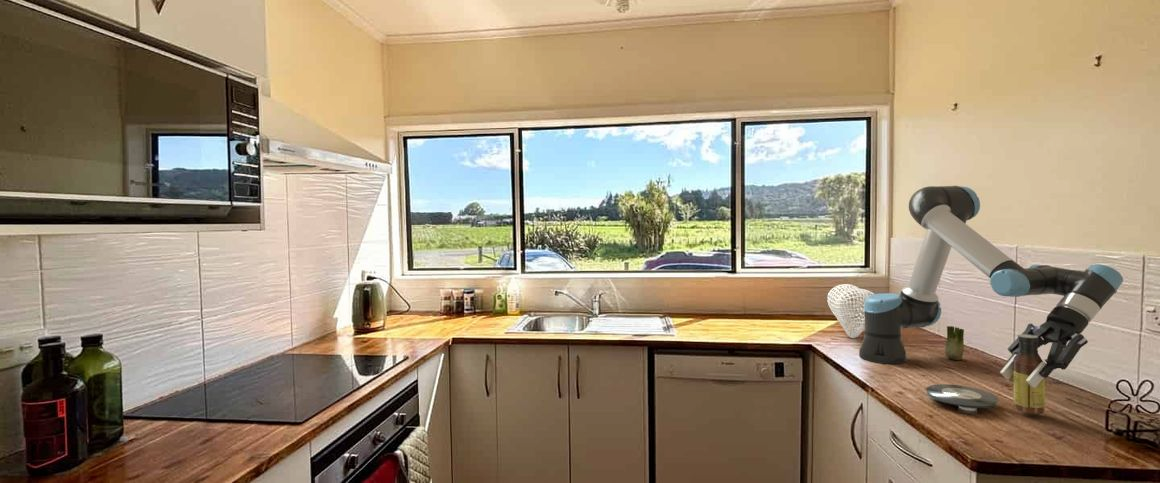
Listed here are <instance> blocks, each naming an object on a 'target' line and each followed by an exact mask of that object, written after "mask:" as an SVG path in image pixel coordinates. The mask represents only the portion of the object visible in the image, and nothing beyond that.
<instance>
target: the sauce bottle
mask: <svg viewBox="0 0 1160 483" xmlns="http://www.w3.org/2000/svg"><path fill="white" fill-rule="evenodd" d="M1017 338H1018V341H1019V352H1018V354H1017V355H1016V356H1015V357H1014V359H1013V362H1014V369H1013V375H1012V376H1013V377H1012V378H1013V403H1014V404H1013V405H1014V408H1015V409H1017V411H1019V412H1023V413H1027V414H1034V415H1041V414H1043V413H1044V412H1045V410H1046V409H1045V406H1046V389H1045V388H1046V386H1045V384H1046V382H1045V381H1046V380H1045V379H1046V378H1043V379H1042V380H1041V382H1040V383H1039V384H1038V385H1037V386H1036V387H1035V388H1033V387H1031V386H1030V385H1029V384H1028V382H1027V381H1026V379H1027V378H1028V377H1029V376H1030V375H1031V374H1032V372H1033V371H1034V370H1035V369H1036V368H1037V366H1038V365H1039V364H1040V363H1041V362H1044V361H1043V359H1042V358H1041V356H1040V354H1039V351H1038V349H1039V348H1037V347H1038V342H1039V341H1038V337H1037V336H1034V335H1028V334H1022V333H1020V334H1017Z"/></svg>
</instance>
